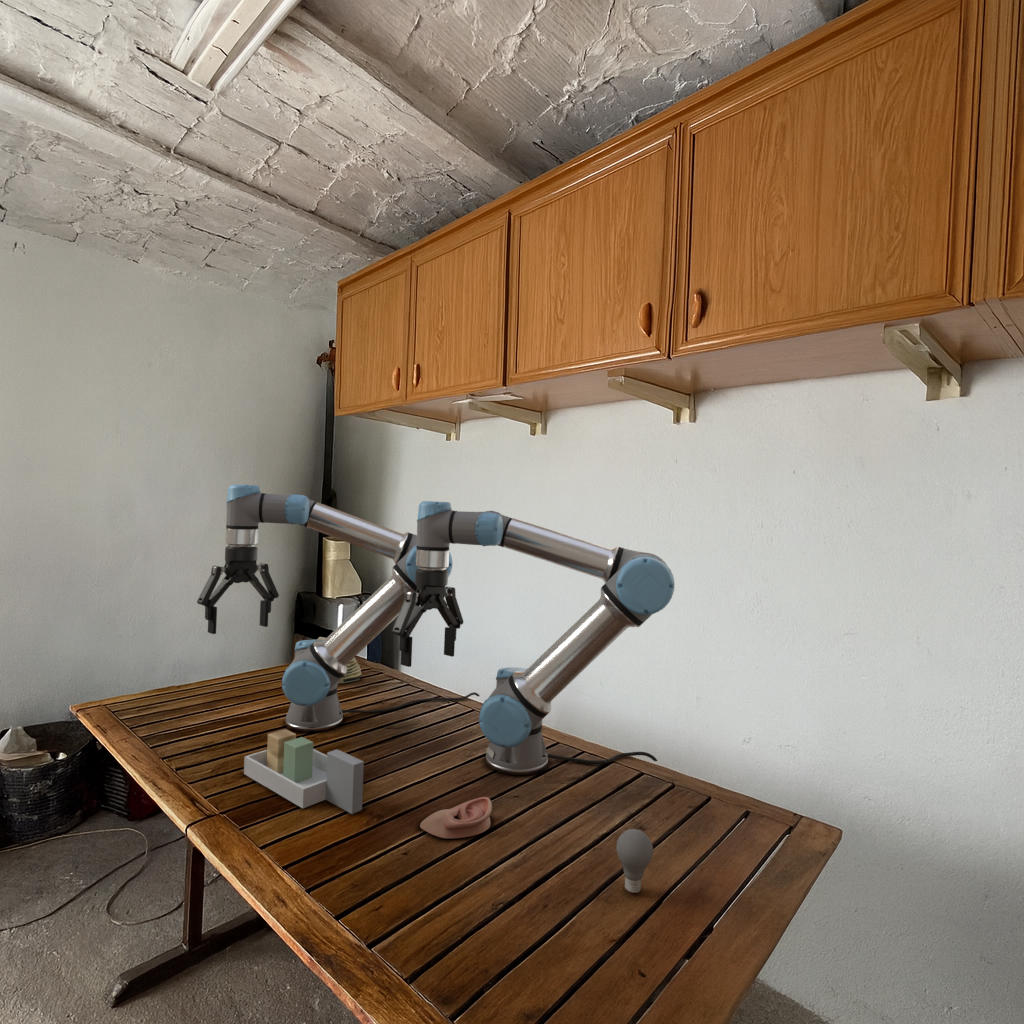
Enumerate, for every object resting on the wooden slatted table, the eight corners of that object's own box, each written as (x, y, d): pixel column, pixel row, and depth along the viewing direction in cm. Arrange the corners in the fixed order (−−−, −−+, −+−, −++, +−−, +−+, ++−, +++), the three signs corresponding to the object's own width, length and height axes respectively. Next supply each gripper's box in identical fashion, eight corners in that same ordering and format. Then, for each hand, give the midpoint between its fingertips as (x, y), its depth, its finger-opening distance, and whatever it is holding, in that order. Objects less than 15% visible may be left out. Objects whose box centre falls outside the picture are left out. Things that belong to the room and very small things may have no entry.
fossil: (301, 682, 213) (303, 637, 213) (352, 673, 225) (353, 631, 225) (313, 688, 206) (315, 642, 206) (364, 679, 219) (366, 636, 218)
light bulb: (610, 879, 108) (613, 822, 108) (644, 879, 109) (647, 822, 109) (619, 902, 102) (622, 840, 102) (655, 901, 103) (658, 840, 103)
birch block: (284, 762, 149) (285, 728, 148) (295, 768, 146) (296, 734, 146) (266, 768, 145) (267, 733, 145) (277, 774, 142) (278, 739, 142)
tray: (243, 774, 143) (245, 730, 143) (295, 757, 153) (297, 716, 153) (329, 824, 123) (331, 773, 123) (382, 801, 133) (384, 753, 133)
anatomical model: (414, 813, 120) (434, 787, 131) (414, 834, 120) (433, 806, 131) (482, 823, 117) (496, 795, 129) (481, 844, 118) (495, 815, 129)
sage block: (300, 771, 144) (302, 736, 144) (312, 777, 142) (313, 742, 141) (282, 777, 141) (284, 742, 141) (294, 784, 138) (295, 747, 138)
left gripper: (278, 543, 172) (275, 621, 172) (183, 545, 152) (180, 633, 153) (294, 545, 167) (291, 625, 167) (198, 548, 148) (195, 639, 148)
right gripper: (457, 563, 157) (454, 648, 158) (378, 569, 138) (374, 666, 138) (480, 567, 153) (476, 654, 153) (401, 573, 133) (397, 673, 134)
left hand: (238, 629), depth 160 cm, fingers open, 13 cm apart
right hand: (428, 660), depth 146 cm, fingers open, 13 cm apart
